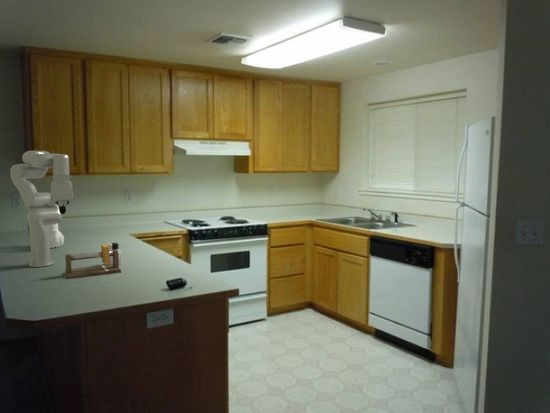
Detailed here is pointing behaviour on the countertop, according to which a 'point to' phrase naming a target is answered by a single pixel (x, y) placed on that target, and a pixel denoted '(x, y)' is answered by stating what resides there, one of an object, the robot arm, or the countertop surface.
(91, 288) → the countertop surface
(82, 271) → the pipe stand
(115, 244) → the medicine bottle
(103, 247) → the collar
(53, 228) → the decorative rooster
